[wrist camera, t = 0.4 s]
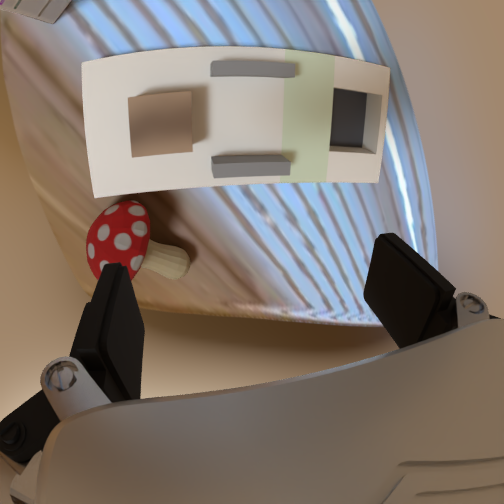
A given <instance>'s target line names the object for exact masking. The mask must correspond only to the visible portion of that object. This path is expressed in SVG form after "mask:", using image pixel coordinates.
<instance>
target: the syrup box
mask: <svg viewBox="0 0 504 504" xmlns="http://www.w3.org/2000/svg"><path fill="white" fill-rule="evenodd" d="M71 1H72V0H0V9H2V10H6V11H10V12H13V13H17V14H20V15H24V16H27V17H31V18H34V19H37V20H40V21H43V22H47V23H50V24H53V23H54V22H55V21H56V20H57V18H58V17H59V16H60V15H61V13H62V12H63V11H64V9H65V8H66V7H67V6H68V4H69V3H70V2H71Z"/></svg>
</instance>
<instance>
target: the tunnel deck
mask: <svg viewBox="0 0 504 504" xmlns="http://www.w3.org/2000/svg"><path fill="white" fill-rule="evenodd" d="M389 82H390V68H389V67H385V66H381V65H377V64H373V63H369V62H364V61H360V60H355V59H350V58H345V57H339V56H333V55H327V54H321V53H314V52H306V51H298V50H288V49H277V48H263V47H237V46H212V47H187V48H172V49H161V50H152V51H144V52H136V53H129V54H123V55H117V56H111V57H106V58H101V59H96V60H92V61H87V62H83V63H82V94H83V111H84V124H85V134H86V144H87V152H88V160H89V167H90V174H91V181H92V187H93V193H94V198H99V197H106V196H114V195H123V194H131V193H141V192H150V191H160V190H171V189H183V188H196V187H210V186H226V185H244V184H268V183H310V182H354V183H378V180H379V174H380V167H381V160H382V153H383V145H384V137H385V128H386V119H387V108H388V96H389ZM185 91H191V96H192V141H193V152H185V153H173V154H162V155H152V156H143V157H134V158H132V154H131V142H130V129H129V114H128V97H135V96H143V95H151V94H161V93H172V92H185Z"/></svg>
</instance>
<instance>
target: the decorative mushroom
mask: <svg viewBox="0 0 504 504" xmlns="http://www.w3.org/2000/svg"><path fill="white" fill-rule="evenodd" d="M86 251H87V260H88V264H89V266H90V269H91V271H92V272H93V274H94V276H95V277H96V278H97V280H99V277H100V275H101V272H102V269H103V267H104V265H105V264H108V263H116V262H120V263H121V264H122V266H127V268H128V272H129V275H130V279H131V280H132V279H133V278H134V276H135V275H136V273H137V272H138V271H139V269H140V267H143V268H148V269H150V270H153V271H155V272H157V273H159V274H160V275H162V276H164V277H166V278H170V279H179V278H181V277H183V276H185V275H186V274H187V273H188V270H189V268H190V258H189V256H188V254H187V253H186V251H185V250H183V249H181V248H179V247H176V246H171V245H164V244H160V243H156V242H154V241H152V240H150V220H149V216H148V213H147V210H146V208H145V207H144V206H143V205H142V204H140V203H138V202H137V201H124V202H120V203H117V204H114V205H112V206H110V207H109V208H107V209H105V210H104V211H103V212H102V213H101V214H100V215H99V216H98V217H97V219H96V220H95V221H94V223H93V224H92V226H91V227H90V229H89V232H88V235H87V241H86Z"/></svg>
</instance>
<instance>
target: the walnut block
mask: <svg viewBox="0 0 504 504" xmlns="http://www.w3.org/2000/svg"><path fill="white" fill-rule="evenodd" d="M128 114H129V129H130V142H131V154H132V158H134V157H143V156H152V155H162V154H173V153H185V152H193V141H192V96H191V91H185V92H172V93H161V94H151V95H143V96H135V97H128Z"/></svg>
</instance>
